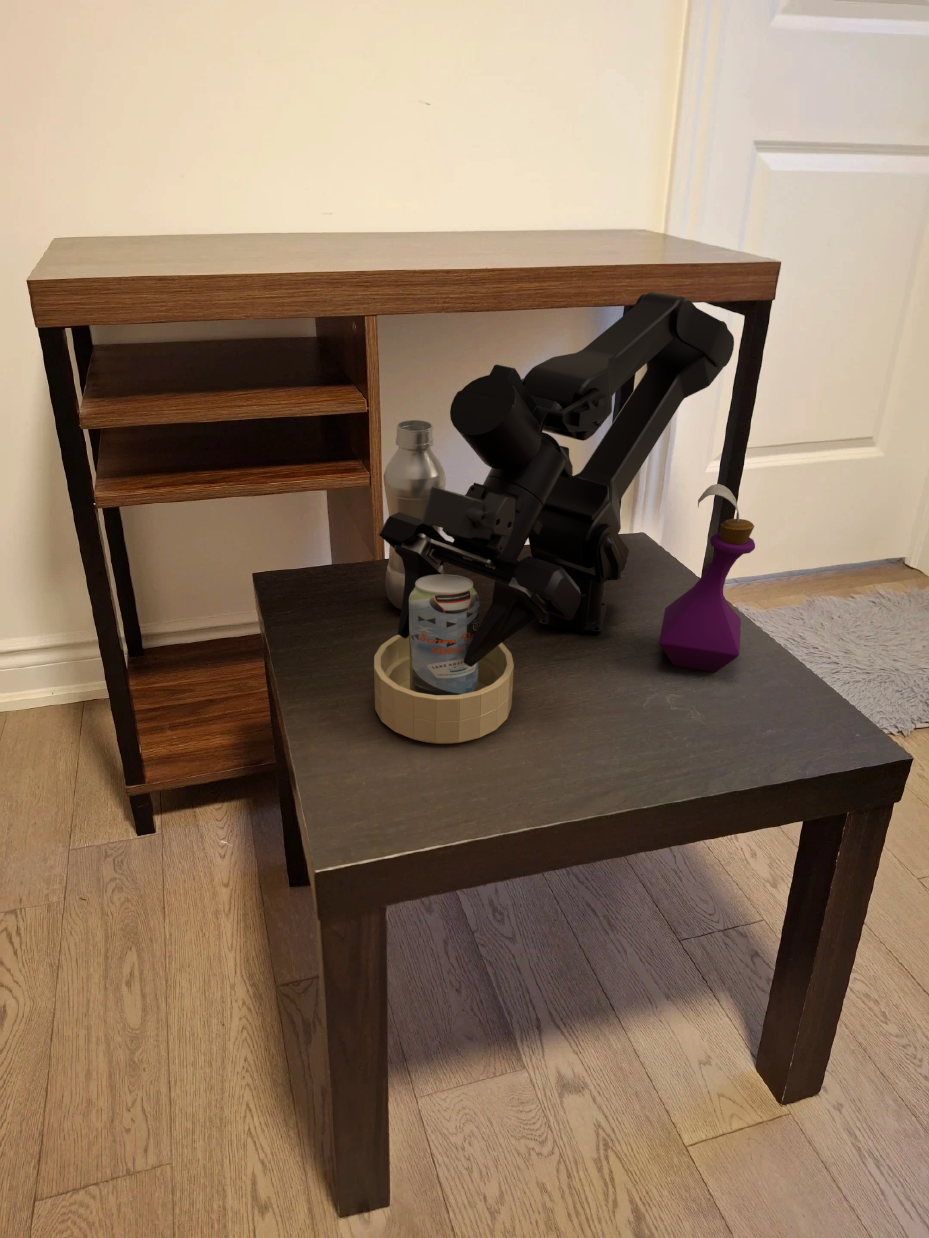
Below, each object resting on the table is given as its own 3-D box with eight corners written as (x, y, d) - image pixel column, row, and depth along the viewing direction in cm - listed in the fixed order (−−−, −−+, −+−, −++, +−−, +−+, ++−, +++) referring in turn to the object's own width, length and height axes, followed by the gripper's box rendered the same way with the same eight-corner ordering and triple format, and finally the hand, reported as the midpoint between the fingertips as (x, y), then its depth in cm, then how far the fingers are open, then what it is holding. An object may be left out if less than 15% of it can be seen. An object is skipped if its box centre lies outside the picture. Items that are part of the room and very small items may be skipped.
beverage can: (418, 730, 81) (418, 608, 75) (400, 685, 87) (399, 568, 81) (488, 720, 82) (493, 599, 77) (465, 676, 89) (469, 561, 83)
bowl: (398, 663, 91) (398, 618, 89) (522, 681, 89) (524, 636, 87) (356, 734, 81) (354, 686, 79) (494, 758, 79) (496, 708, 76)
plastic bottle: (445, 591, 105) (448, 416, 95) (443, 620, 99) (446, 437, 89) (388, 589, 105) (385, 414, 95) (382, 619, 99) (378, 435, 89)
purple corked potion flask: (735, 646, 96) (767, 479, 87) (733, 684, 89) (767, 508, 81) (661, 635, 97) (685, 470, 89) (654, 671, 91) (679, 498, 82)
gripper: (391, 424, 81) (305, 582, 79) (574, 475, 72) (482, 656, 69) (447, 485, 91) (371, 628, 88) (616, 537, 81) (536, 699, 79)
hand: (433, 650), depth 81 cm, fingers open, 7 cm apart
